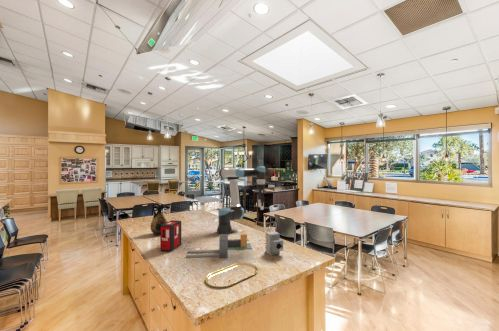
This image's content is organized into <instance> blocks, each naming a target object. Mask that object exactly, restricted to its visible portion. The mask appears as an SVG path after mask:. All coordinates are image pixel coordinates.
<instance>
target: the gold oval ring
mask: <svg viewBox="0 0 499 331" xmlns="http://www.w3.org/2000/svg"><path fill="white" fill-rule="evenodd" d="M241 266H242V267H243V266H246V267H250V268H252V269H254V273H253V274H250V275H248V276H246V277H244V278H241V279H240V280H238V281H235V282H233V283H231V284H227V285H222V286H221V285H220V286H217V285H212V284H210V282H209V280H210V278H211V277H213V276H215V275H218V274H221V273H223V272H227V271H228V270H231V269H233V268H235V267H241ZM258 271H259V270H258V267H257V266H256V265H255V264H252V263H248V262H238V263H233V264H230V265H228V266H226V267H223V268H220V269H218V270H215V271H213V272H210V273H208V274H207V275H206V276H205V279H204V280H205V283H206V284H207V285H208V286H210V287H212V288H216V289H221V288H223V289H224V288H227V287H228V288H229V287H231V286H234V285H235V284H237V283H240V282H242V281H244V280H247V279H249V278H250V277H251V278H252V277H253V276H254V275H256V274H257V272H258Z"/></svg>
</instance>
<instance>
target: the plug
mask: <svg viewBox="0 0 499 331" xmlns="http://www.w3.org/2000/svg"><path fill="white" fill-rule="evenodd" d="M249 241H250V239H249V238H248V233H247V232H240V238H239V239H228V247H247V243H248V242H249Z"/></svg>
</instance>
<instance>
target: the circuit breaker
mask: <svg viewBox="0 0 499 331" xmlns="http://www.w3.org/2000/svg"><path fill="white" fill-rule="evenodd" d="M264 250H265V253H266V254H268V255H270V256H274V255H279V254H281V253H280V252H283V251H284V240H283V239H282V238H281V237H280V233H279V232H277V231H274V230H272V231H265V249H264Z"/></svg>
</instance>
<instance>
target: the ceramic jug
mask: <svg viewBox="0 0 499 331" xmlns="http://www.w3.org/2000/svg"><path fill="white" fill-rule="evenodd" d="M156 206H157V207H156ZM155 207H156V208H155ZM151 208H152V212H153V217H152V219H151V222H150V225H149V226H150V230H151V232H152V234H153V235H154V236H160V225H162V224H165V223H167V222H168V221H167V218H166V217H165V215H164V214H163V213H162V210H164V209H166V208H167V206H165V204H163V203H162V204H161V205H160V203H158V202H155V203H153V204H152V206H151ZM155 210H156V211H157V212H156V211H155Z"/></svg>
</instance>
